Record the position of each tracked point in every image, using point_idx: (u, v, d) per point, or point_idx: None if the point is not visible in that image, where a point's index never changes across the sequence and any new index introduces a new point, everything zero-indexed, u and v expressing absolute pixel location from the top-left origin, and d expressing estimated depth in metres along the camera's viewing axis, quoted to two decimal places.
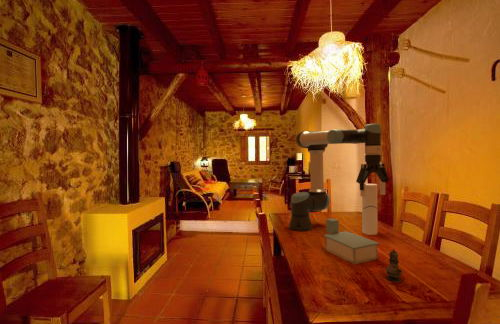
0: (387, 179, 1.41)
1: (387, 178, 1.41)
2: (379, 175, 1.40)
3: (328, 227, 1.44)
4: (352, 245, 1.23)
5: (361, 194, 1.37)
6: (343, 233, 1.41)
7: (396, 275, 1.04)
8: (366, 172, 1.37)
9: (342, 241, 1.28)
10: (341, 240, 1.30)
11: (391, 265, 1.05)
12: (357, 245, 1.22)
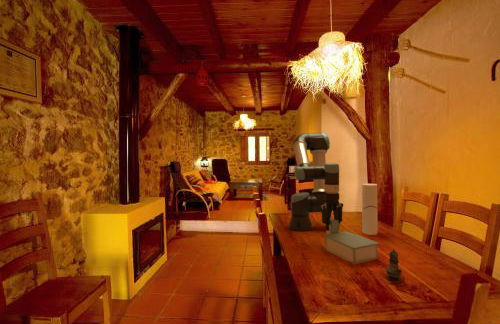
0: (340, 220, 1.45)
1: (340, 219, 1.45)
2: (334, 214, 1.44)
3: None
4: (352, 245, 1.23)
5: None
6: (343, 233, 1.41)
7: (396, 275, 1.04)
8: (327, 212, 1.43)
9: (342, 241, 1.28)
10: (341, 240, 1.30)
11: (391, 265, 1.05)
12: (357, 245, 1.23)
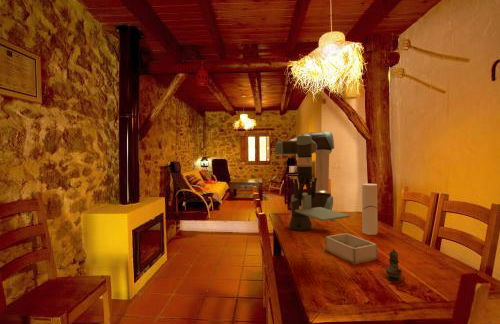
0: (313, 195, 1.38)
1: (314, 194, 1.38)
2: (307, 189, 1.37)
3: None
4: (321, 217, 1.16)
5: None
6: (316, 208, 1.34)
7: (396, 275, 1.04)
8: (300, 186, 1.36)
9: (312, 214, 1.21)
10: (311, 213, 1.23)
11: (391, 265, 1.05)
12: (326, 217, 1.15)
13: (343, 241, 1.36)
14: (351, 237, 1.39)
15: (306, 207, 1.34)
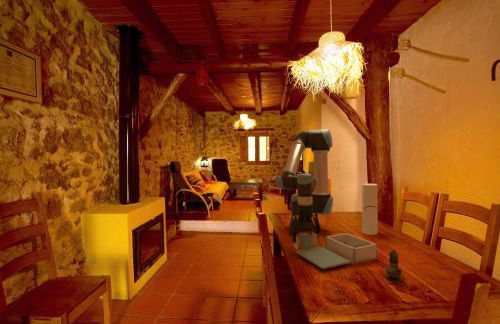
0: (319, 230, 1.39)
1: (319, 229, 1.40)
2: (311, 225, 1.39)
3: (301, 242, 1.38)
4: (321, 264, 1.16)
5: (294, 246, 1.36)
6: (316, 248, 1.35)
7: (396, 275, 1.04)
8: (298, 223, 1.36)
9: (312, 259, 1.22)
10: (312, 257, 1.24)
11: (391, 265, 1.05)
12: (327, 264, 1.16)
13: (343, 241, 1.36)
14: (351, 237, 1.39)
15: (306, 247, 1.35)
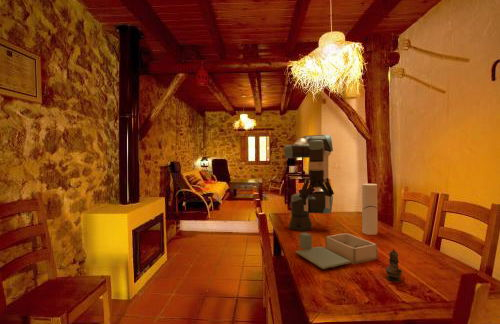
0: (332, 193, 1.45)
1: (332, 192, 1.45)
2: (323, 189, 1.44)
3: (301, 242, 1.38)
4: (321, 264, 1.16)
5: (304, 208, 1.41)
6: (316, 248, 1.35)
7: (396, 275, 1.04)
8: (309, 187, 1.41)
9: (312, 259, 1.22)
10: (312, 257, 1.24)
11: (391, 265, 1.05)
12: (327, 264, 1.16)
13: (343, 241, 1.36)
14: (351, 237, 1.39)
15: (306, 247, 1.35)
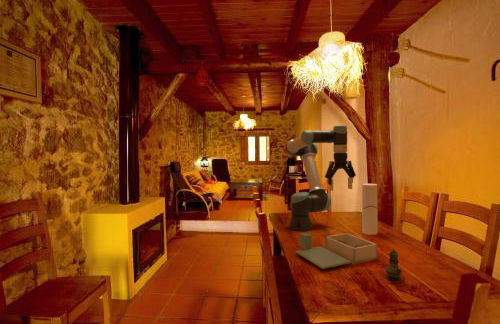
0: (354, 175, 1.57)
1: (354, 174, 1.57)
2: (346, 171, 1.56)
3: (301, 242, 1.38)
4: (321, 264, 1.16)
5: (329, 188, 1.52)
6: (316, 248, 1.35)
7: (396, 275, 1.04)
8: (334, 168, 1.52)
9: (312, 259, 1.22)
10: (312, 257, 1.24)
11: (391, 265, 1.05)
12: (327, 264, 1.16)
13: (343, 241, 1.36)
14: (351, 237, 1.39)
15: (306, 247, 1.35)
